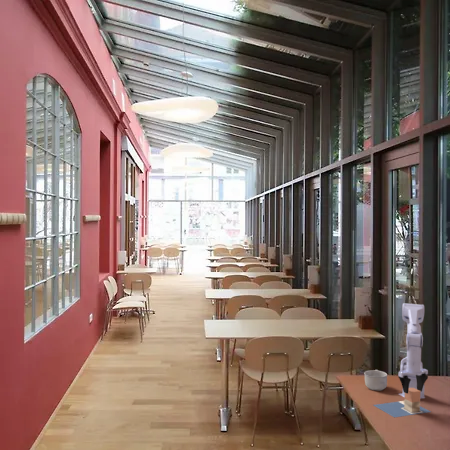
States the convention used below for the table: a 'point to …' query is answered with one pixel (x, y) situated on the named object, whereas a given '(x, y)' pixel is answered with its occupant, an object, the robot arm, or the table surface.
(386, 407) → the board
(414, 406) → the maple cube
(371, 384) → the teacup
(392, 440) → the table surface
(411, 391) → the terracotta cube
